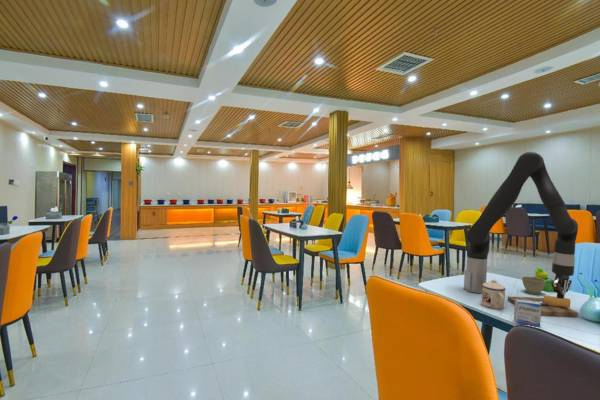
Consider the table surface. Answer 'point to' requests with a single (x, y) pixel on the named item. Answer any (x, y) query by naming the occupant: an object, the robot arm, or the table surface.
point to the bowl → (533, 284)
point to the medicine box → (527, 312)
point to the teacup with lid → (493, 295)
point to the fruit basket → (543, 275)
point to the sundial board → (549, 308)
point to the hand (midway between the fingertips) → (560, 301)
